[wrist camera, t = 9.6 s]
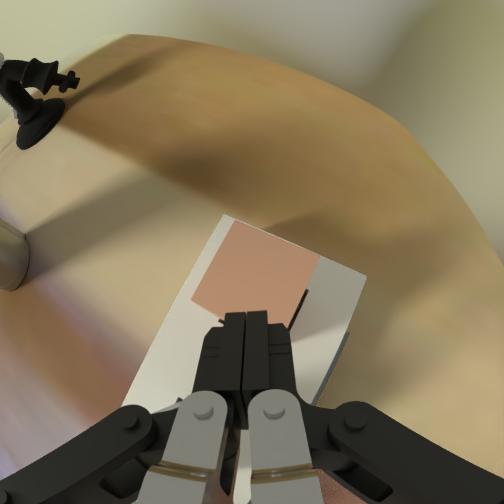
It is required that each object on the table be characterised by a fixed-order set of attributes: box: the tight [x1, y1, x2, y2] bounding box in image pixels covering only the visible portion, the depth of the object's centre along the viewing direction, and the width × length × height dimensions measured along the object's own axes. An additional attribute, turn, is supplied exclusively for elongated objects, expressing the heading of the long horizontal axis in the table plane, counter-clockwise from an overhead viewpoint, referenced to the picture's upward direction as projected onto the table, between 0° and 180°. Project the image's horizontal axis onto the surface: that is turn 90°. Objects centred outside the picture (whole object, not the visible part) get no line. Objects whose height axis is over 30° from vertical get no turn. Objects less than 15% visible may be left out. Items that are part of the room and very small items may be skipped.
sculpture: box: [0, 53, 80, 150], centre depth 34 cm, size 15×24×25 cm, turn 95°
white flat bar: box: [121, 214, 367, 504], centre depth 22 cm, size 38×15×6 cm, turn 153°
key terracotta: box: [191, 220, 320, 328], centre depth 19 cm, size 5×5×10 cm
